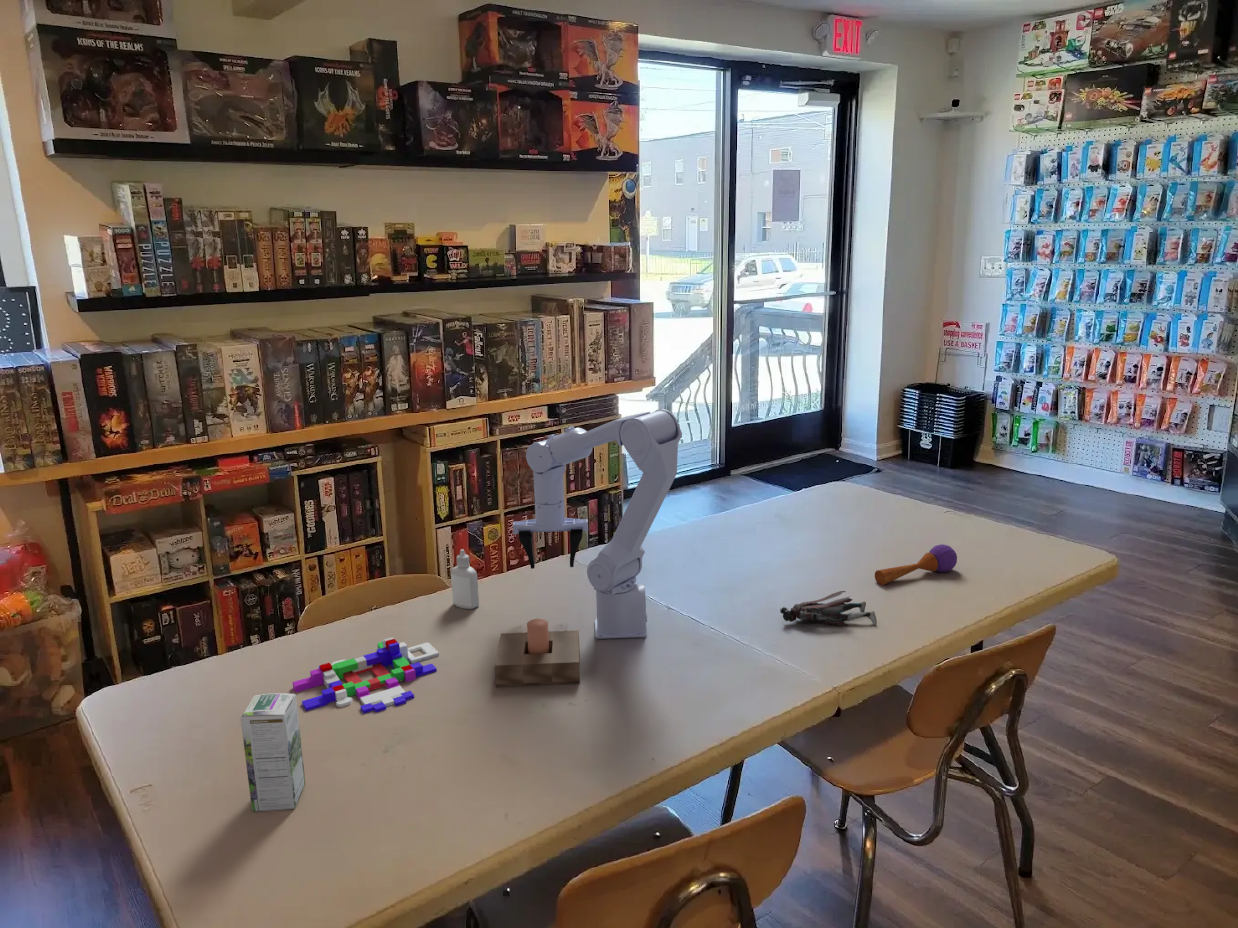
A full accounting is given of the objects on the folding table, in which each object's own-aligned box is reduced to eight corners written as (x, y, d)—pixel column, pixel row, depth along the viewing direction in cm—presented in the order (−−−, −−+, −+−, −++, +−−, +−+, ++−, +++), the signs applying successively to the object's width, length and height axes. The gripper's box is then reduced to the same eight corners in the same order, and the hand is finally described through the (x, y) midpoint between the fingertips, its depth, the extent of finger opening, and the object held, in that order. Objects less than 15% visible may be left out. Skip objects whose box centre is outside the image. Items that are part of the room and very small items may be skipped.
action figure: (861, 614, 178) (773, 617, 176) (863, 585, 177) (774, 587, 175) (877, 629, 170) (785, 632, 168) (880, 599, 169) (787, 601, 167)
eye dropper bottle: (460, 612, 180) (456, 556, 177) (451, 602, 185) (447, 547, 182) (481, 607, 182) (477, 552, 179) (471, 597, 187) (467, 543, 184)
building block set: (319, 733, 140) (316, 707, 138) (285, 679, 156) (282, 656, 155) (468, 686, 153) (466, 662, 152) (422, 641, 169) (420, 619, 168)
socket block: (579, 650, 163) (578, 630, 162) (579, 683, 152) (579, 661, 151) (501, 653, 163) (500, 633, 162) (496, 686, 151) (495, 665, 150)
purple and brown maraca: (868, 562, 192) (941, 539, 199) (872, 588, 193) (944, 565, 200) (887, 566, 186) (961, 543, 194) (891, 594, 187) (964, 570, 194)
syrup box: (264, 786, 126) (251, 693, 122) (307, 784, 126) (295, 691, 122) (251, 812, 120) (237, 716, 116) (297, 809, 121) (284, 713, 117)
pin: (547, 659, 159) (545, 617, 157) (552, 668, 156) (550, 625, 154) (527, 662, 158) (524, 620, 156) (531, 671, 155) (529, 629, 153)
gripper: (586, 493, 178) (588, 557, 182) (513, 495, 178) (516, 559, 182) (587, 503, 172) (589, 570, 175) (510, 506, 171) (514, 573, 175)
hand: (552, 566), depth 178 cm, fingers open, 7 cm apart
